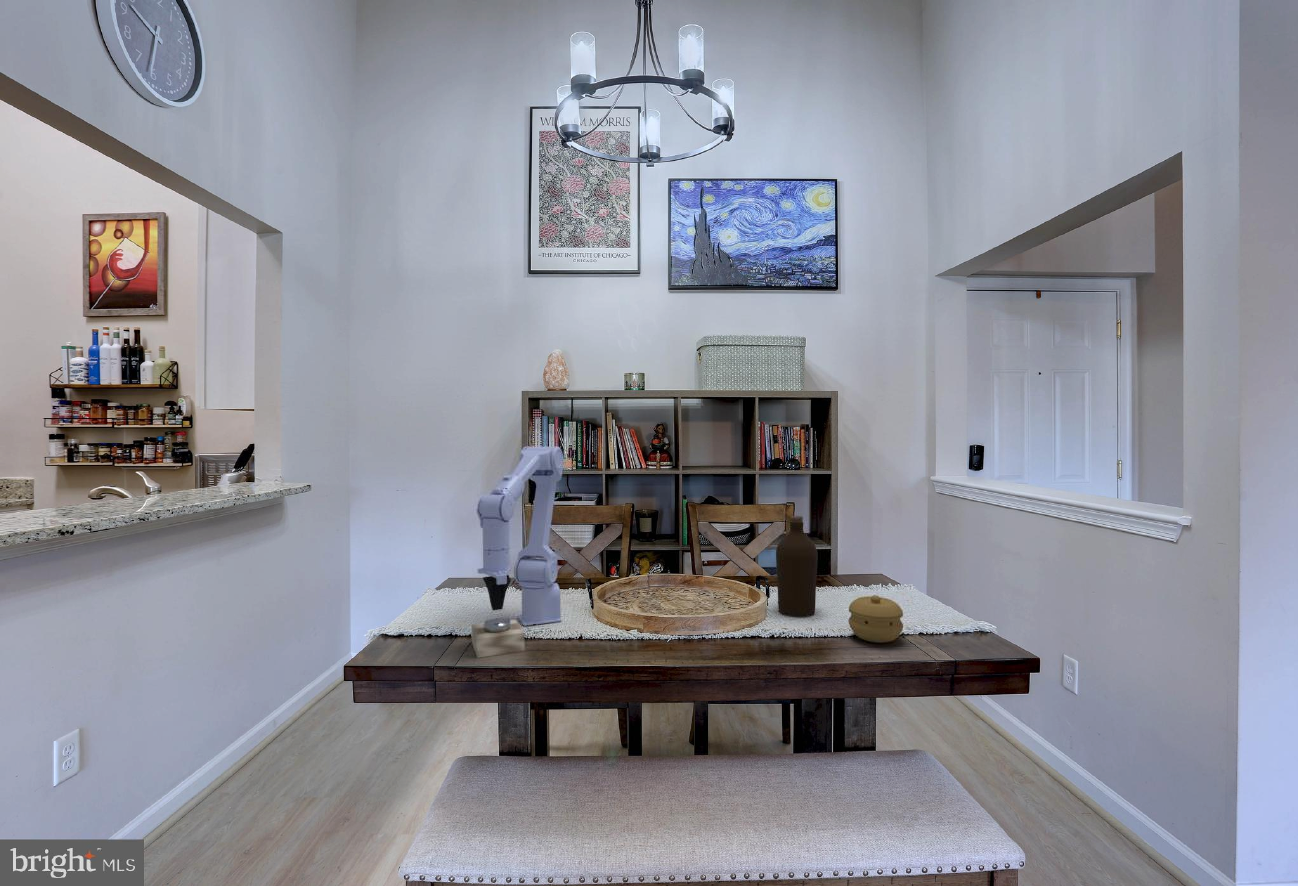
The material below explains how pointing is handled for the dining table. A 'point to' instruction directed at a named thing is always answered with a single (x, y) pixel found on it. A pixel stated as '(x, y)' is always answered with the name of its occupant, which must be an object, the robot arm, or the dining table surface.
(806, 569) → the olive oil
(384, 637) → the dining table surface
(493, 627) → the grey metal knob
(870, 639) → the lidded pot
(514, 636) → the maple block
